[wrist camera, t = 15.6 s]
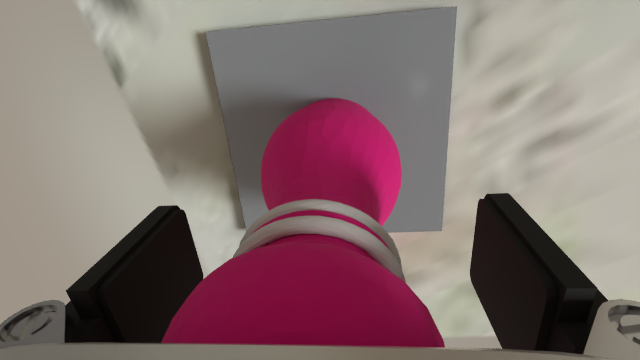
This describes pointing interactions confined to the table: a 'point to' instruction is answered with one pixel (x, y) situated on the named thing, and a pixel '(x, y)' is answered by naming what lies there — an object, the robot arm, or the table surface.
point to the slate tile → (344, 95)
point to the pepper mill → (316, 246)
